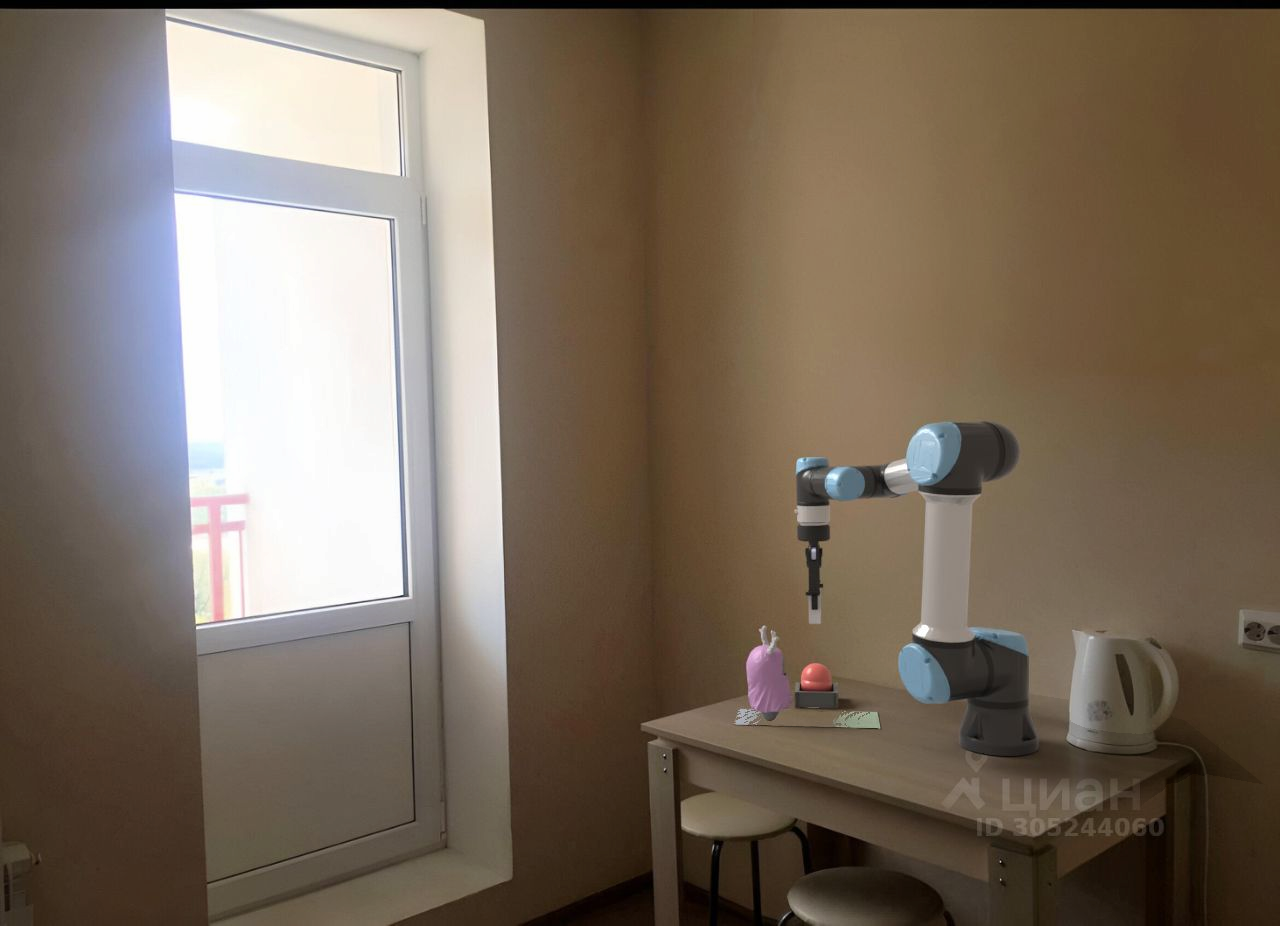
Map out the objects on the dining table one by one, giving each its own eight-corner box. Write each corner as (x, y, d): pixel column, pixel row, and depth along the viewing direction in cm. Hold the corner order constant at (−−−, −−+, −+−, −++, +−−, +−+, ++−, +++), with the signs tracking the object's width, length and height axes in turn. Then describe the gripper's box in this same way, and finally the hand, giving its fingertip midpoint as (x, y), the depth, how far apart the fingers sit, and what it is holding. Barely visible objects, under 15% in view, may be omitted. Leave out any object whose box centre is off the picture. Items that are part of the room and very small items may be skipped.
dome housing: (838, 709, 241) (838, 692, 241) (794, 708, 242) (794, 692, 242) (837, 698, 250) (837, 682, 250) (796, 697, 252) (795, 682, 252)
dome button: (831, 697, 242) (831, 667, 242) (801, 696, 243) (800, 666, 243) (831, 690, 249) (831, 660, 249) (801, 689, 250) (801, 660, 250)
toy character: (797, 724, 228) (795, 632, 228) (749, 725, 228) (747, 633, 228) (790, 709, 240) (788, 622, 240) (745, 710, 241) (743, 623, 240)
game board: (880, 729, 224) (880, 728, 224) (734, 725, 229) (734, 724, 229) (877, 712, 237) (877, 712, 237) (739, 709, 242) (739, 708, 242)
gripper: (798, 519, 257) (799, 611, 257) (795, 528, 235) (797, 628, 236) (829, 519, 255) (831, 611, 256) (830, 527, 234) (831, 628, 234)
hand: (815, 619), depth 246 cm, fingers open, 9 cm apart
